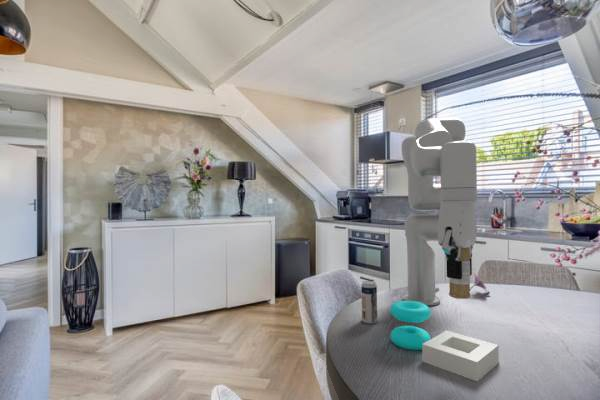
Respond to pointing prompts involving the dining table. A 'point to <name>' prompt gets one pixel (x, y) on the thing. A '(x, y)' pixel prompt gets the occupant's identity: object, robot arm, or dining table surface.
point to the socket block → (461, 354)
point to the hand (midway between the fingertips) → (459, 275)
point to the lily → (479, 283)
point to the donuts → (410, 334)
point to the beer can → (369, 302)
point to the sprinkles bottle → (462, 286)
